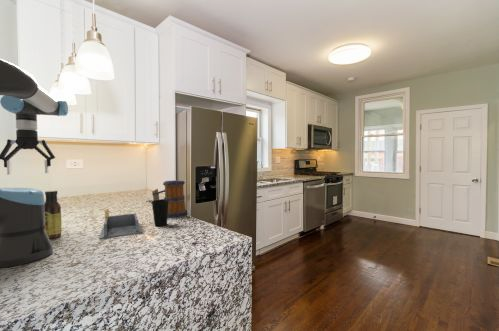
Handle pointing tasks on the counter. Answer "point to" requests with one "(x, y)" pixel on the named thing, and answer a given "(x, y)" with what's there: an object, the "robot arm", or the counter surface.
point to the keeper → (120, 225)
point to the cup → (160, 212)
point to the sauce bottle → (52, 215)
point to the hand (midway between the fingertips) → (28, 173)
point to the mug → (173, 198)
